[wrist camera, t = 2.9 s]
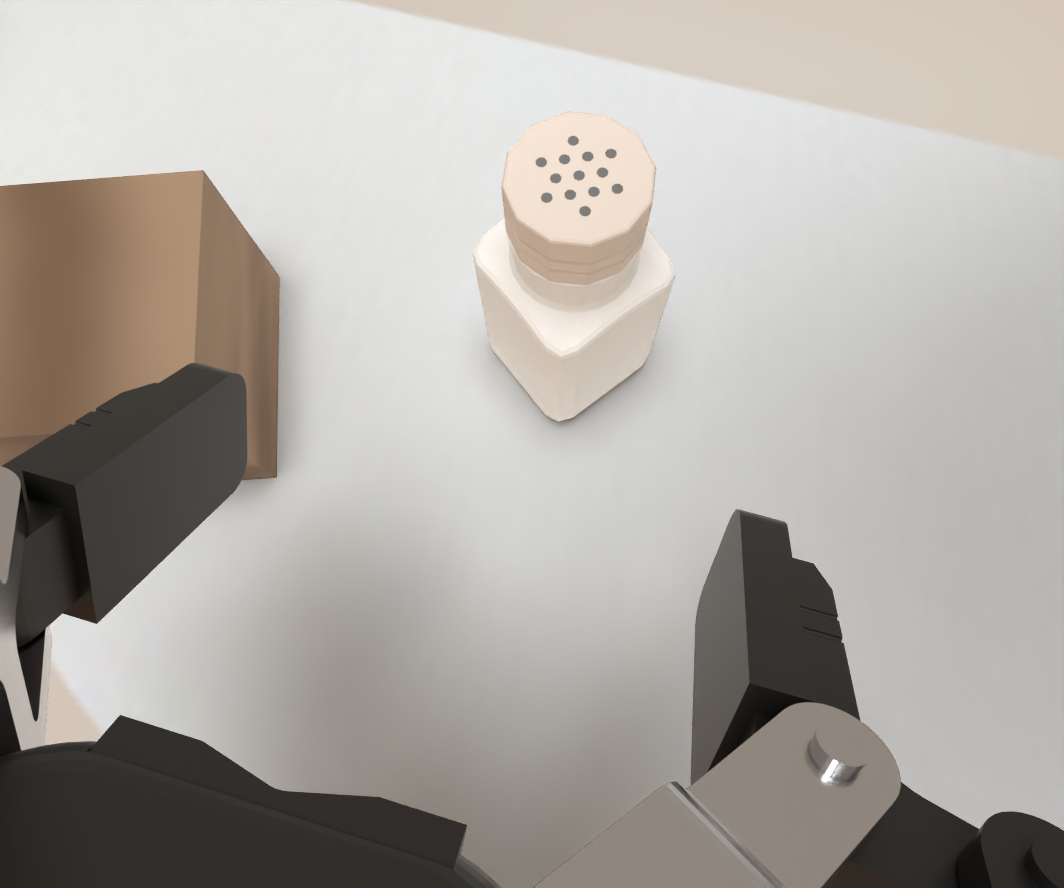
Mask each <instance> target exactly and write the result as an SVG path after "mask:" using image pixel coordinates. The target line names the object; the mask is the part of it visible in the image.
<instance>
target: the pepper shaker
mask: <svg viewBox="0 0 1064 888" xmlns="http://www.w3.org/2000/svg"><path fill="white" fill-rule="evenodd" d="M655 174H656V167H655V165H654V163H653V161H652V160H651V158H650V156H649V154H648V152H647V150H646V148H645V146H644V144H643V143H642V141H641V139H640V137H639V135H637V134H636V133H634V132H632V131H631V130H629V129H628V128H626V127H624V126H623V125H621V124H620V123H618V122H616V121H615V120H613V119H612V118H610V117H608V116H607V115H596V114H586V113H576V112H566V113H563V114H561V115H558V116H555V117H552V118H550V119H547V120H544V121H541V122H539V123H536V124H533V125H532V126H531V127H530V128H529V129H528V130H527V131H526V132H525V134H524V135H523V136H522V137H521V138H520V139H519V140H518V141H517V143H516V144H515V145H514V146H513V147H512V148H511V149H510V150H509V151H508V153H507V158H506V164H505V170H504V176H503V182H502V197H503V206H504V216H505V217H504V218H503V219H502V220H500V221H499V222H498V223H497V224H496V225H495V226H493V227H492V228H491V229H490V230H489V231H487V232H486V233H485V234H484V235H483V236H482V238H481V240H480V242H479V244H478V245H477V247H476V249H475V251H474V253H473V258H474V263H475V268H476V274H477V279H478V284H479V289H480V295H481V300H482V305H483V310H484V316H485V321H486V326H487V332H488V337H489V340H490V344H491V348H492V350H493V351H494V352H495V353H496V354H497V356H498V357H499V358H500V359H501V361H502V362H503V363H504V364H505V366H506V367H507V368H508V369H509V371H510V372H511V373H512V374H513V376H514V377H515V378H516V379H517V380H518V382H519V383H520V384H521V385H522V387H523V388H524V389H525V390H526V392H527V393H528V394H529V395H530V397H531V398H532V399H533V400H534V401H535V403H536V404H537V405H538V406H539V408H540V409H541V410H542V411H543V413H544V414H545V415H547V416H549V417H550V418H552V419H554V420H556V421H558V422H559V421H563V420H567V419H570V418H573V417H574V416H576V415H577V414H578V413H580V412H581V411H582V410H584V409H585V408H586V407H588V406H589V405H591V404H592V403H593V402H595V401H596V400H597V399H599V398H600V397H601V396H603V395H604V394H605V393H607V392H608V391H609V390H611V389H612V388H613V387H615V386H616V385H617V384H619V383H620V382H621V381H623V380H624V379H626V378H627V377H628V376H630V375H631V374H632V373H634V372H635V371H636V370H638V369H639V368H640V367H642V365H643V364H644V362H645V360H646V358H647V357H648V355H649V352H650V349H651V346H652V343H653V341H654V338H655V335H656V332H657V329H658V326H659V323H660V320H661V317H662V314H663V311H664V308H665V305H666V302H667V299H668V296H669V293H670V290H671V287H672V284H673V281H674V279H675V275H674V271H673V267H672V263H671V259H670V256H669V255H668V253H667V252H666V251H665V249H664V248H663V246H662V245H661V244H660V242H659V241H658V240H657V238H656V237H655V236H654V234H653V233H652V232H651V231H650V230H649V228H648V227H647V224H648V220H649V216H650V212H651V207H652V202H653V193H654V183H655Z"/></svg>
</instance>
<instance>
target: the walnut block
mask: <svg viewBox="0 0 1064 888" xmlns="http://www.w3.org/2000/svg"><path fill="white" fill-rule="evenodd" d="M278 342H279V276H278V274H277V273H276V271H275V270H274V269H273V267H272V266H271V264H270V263H269V262H268V260H267V259H266V257H265V256H264V255H263V253H262V252H261V250H260V249H259V248H258V246H257V245H256V243H255V242H254V241H253V239H252V238H251V236H250V235H249V234H248V232H247V231H246V229H245V228H244V227H243V225H242V224H241V222H240V221H239V220H238V218H237V217H236V215H235V214H234V213H233V211H232V210H231V208H230V207H229V206H228V204H227V203H226V201H225V200H224V199H223V197H222V196H221V194H220V193H219V192H218V190H217V189H216V187H215V186H214V185H213V183H212V182H211V180H210V179H209V178H208V176H207V175H206V173H205V172H204V171H203V170H201V171H188V172H175V173H162V174H149V175H137V176H124V177H111V178H98V179H85V180H72V181H59V182H47V183H34V184H21V185H8V186H0V466H2V465H4V464H6V463H7V462H9V461H10V460H12V459H14V458H15V457H17V456H19V455H20V454H22V453H23V452H25V451H27V450H28V449H30V448H32V447H33V446H35V445H37V444H38V443H40V442H41V441H43V440H45V439H46V438H48V437H50V436H51V435H53V434H55V433H56V432H58V431H59V430H61V429H63V428H64V427H66V426H68V425H69V424H72V425H74V424H75V421H76V420H77V419H79V418H81V417H82V416H84V415H86V414H87V413H89V412H90V411H93V412H95V411H96V408H97V407H99V406H100V405H102V404H103V403H105V402H107V401H108V400H110V399H112V398H113V397H115V396H117V395H118V394H120V393H122V392H125V391H128V390H132V389H135V388H138V387H142V386H145V385H148V384H152V383H159V382H161V381H163V380H164V379H166V378H167V377H169V376H170V375H172V374H174V373H175V372H177V371H178V370H180V369H181V368H183V367H185V366H186V365H188V364H190V363H193V362H195V363H200V364H204V365H208V366H212V367H215V368H219V369H223V370H226V371H230V372H234V373H238V374H240V375H241V376H242V377H243V378H244V381H245V384H246V392H247V464H246V468H245V472H244V475H243V477H242V479H241V480H249V479H262V478H275V477H277V412H278Z"/></svg>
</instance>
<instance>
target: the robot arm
mask: <svg viewBox="0 0 1064 888" xmlns="http://www.w3.org/2000/svg"><path fill="white" fill-rule="evenodd" d="M246 464H247V392H246V384H245V381H244V378H243V377H242V376H241V375H240V374H238V373H234V372H230V371H226V370H223V369H219V368H215V367H212V366H208V365H204V364H200V363H195V362H193V363H190V364H188V365H186V366H185V367H183V368H181V369H180V370H178V371H177V372H175V373H174V374H172V375H170V376H169V377H167V378H166V379H164V380H163V381H161V382H159V383H152V384H148V385H145V386H142V387H138V388H135V389H132V390H128V391H125V392H122V393H120V394H118V395H117V396H115V397H113V398H112V399H110V400H108V401H107V402H105V403H103V404H102V405H100V406H99V407H97V408H96V411H95V412H93V411H90V412H89V413H87V414H86V415H84V416H82V417H81V418H79V419H77V420H76V421H75V424H74V425H72V424H69V425H68V426H66V427H64V428H63V429H61V430H59V431H58V432H56V433H55V434H53V435H51V436H50V437H48V438H46V439H45V440H43V441H41V442H40V443H38V444H37V445H35V446H33V447H32V448H30V449H28V450H27V451H25V452H23V453H22V454H20V455H19V456H17V457H15V458H14V459H12V460H10V461H9V462H7V463H6V464H4V465H2V466H0V888H501V887H500V886H499V885H498V884H497V883H496V882H495V881H494V880H493V879H492V878H490V877H489V876H488V875H487V874H486V873H485V872H483V871H482V870H481V869H480V868H479V867H478V866H476V865H475V864H473V863H472V862H470V861H469V860H467V859H466V858H464V857H463V856H461V855H460V854H461V850H462V845H463V841H464V837H465V832H466V828H467V825H465V824H462V823H459V822H456V821H453V820H449V819H446V818H443V817H440V816H437V815H434V814H430V813H427V812H424V811H421V810H418V809H415V808H412V807H408V806H405V805H402V804H399V803H396V802H393V801H389V800H386V799H383V798H380V797H368V796H352V795H336V794H320V793H304V792H288V791H281V790H278V789H275V788H273V787H271V786H269V785H268V784H266V783H265V782H263V781H262V780H260V779H259V778H257V777H256V776H254V775H253V774H251V773H250V772H248V771H247V770H245V769H244V768H242V767H241V766H239V765H238V764H236V763H235V762H233V761H232V760H230V759H229V758H227V757H226V756H224V755H223V754H221V753H220V752H218V751H217V750H215V749H214V748H212V747H211V746H209V745H208V744H206V743H205V742H203V741H200V740H197V739H194V738H191V737H188V736H185V735H181V734H178V733H175V732H172V731H169V730H166V729H163V728H159V727H156V726H153V725H150V724H147V723H144V722H140V721H137V720H134V719H131V718H128V717H125V716H122V715H120V716H119V717H118V718H117V719H116V720H115V722H114V723H113V724H112V725H111V726H110V727H109V728H108V730H107V731H106V732H105V733H104V734H103V735H102V737H101V738H100V739H99V740H98V741H97V742H93V741H89V742H88V741H87V742H67V743H59V744H52V745H45V732H46V718H47V704H48V690H49V676H50V662H51V648H52V636H51V631H50V626H49V625H50V624H51V623H52V622H53V621H54V620H55V619H57V618H58V617H59V616H60V615H61V614H62V613H63V614H67V615H70V616H73V617H76V618H80V619H83V620H86V621H89V622H93V623H96V624H97V623H98V622H99V621H100V620H101V619H102V618H103V617H104V616H105V615H107V614H108V613H109V612H110V611H111V610H112V609H113V608H114V607H115V606H116V605H117V604H118V603H119V602H120V601H121V600H122V599H123V598H124V597H125V596H126V595H127V594H128V593H129V592H130V591H131V590H132V589H134V588H135V587H136V586H137V585H138V584H139V583H140V582H141V581H142V580H143V579H144V578H145V577H146V576H147V575H148V574H149V573H150V572H151V571H152V570H153V569H154V568H155V567H156V566H157V565H158V564H159V563H160V562H162V561H163V560H164V559H165V558H166V557H167V556H168V555H169V554H170V553H171V552H172V551H173V550H174V549H175V548H176V547H177V546H178V545H179V544H180V543H181V542H182V541H183V540H184V539H185V538H186V537H187V536H189V535H190V534H191V533H192V532H193V531H194V530H195V529H196V528H197V527H198V526H199V525H200V524H201V523H202V522H203V521H204V520H205V519H206V518H207V517H208V516H209V515H210V514H211V513H212V512H213V511H214V510H215V509H217V508H218V507H219V506H220V505H221V504H222V503H223V502H224V501H225V500H226V499H227V498H228V497H229V496H230V495H231V494H232V493H233V492H234V491H235V490H236V488H237V487H238V485H239V483H240V481H241V479H242V477H243V475H244V472H245V468H246ZM837 617H838V614H837V610H836V605H835V600H834V596H833V591H832V589H831V587H830V586H829V585H828V583H827V582H826V580H825V579H824V578H823V576H822V575H821V573H820V572H819V571H818V569H817V568H816V566H815V565H814V564H813V563H809V562H806V561H802V560H798V559H795V558H792V553H791V546H790V540H789V533H788V527H787V524H786V522H783V521H780V520H776V519H772V518H769V517H765V516H761V515H757V514H754V513H750V512H746V511H743V510H739V509H737V510H735V512H734V513H733V515H732V517H731V519H730V521H729V523H728V526H727V528H726V531H725V533H724V536H723V538H722V541H721V544H720V546H719V549H718V551H717V554H716V556H715V559H714V561H713V564H712V566H711V569H710V572H709V574H708V577H707V579H706V582H705V584H704V587H703V590H702V593H701V597H700V601H699V605H698V610H697V616H696V624H695V655H694V689H693V722H692V756H691V786H690V787H689V788H687V789H685V790H684V789H683V788H682V787H681V786H680V785H679V784H678V783H677V782H670V783H668V784H666V785H664V786H662V787H661V788H659V789H658V790H656V791H655V792H654V793H652V794H651V795H650V796H649V797H647V798H646V799H645V800H644V801H642V802H641V803H640V804H639V805H637V806H636V807H635V808H634V809H632V810H631V811H630V812H628V813H627V814H626V815H625V816H623V817H622V818H621V819H620V820H618V821H617V822H616V823H615V824H613V825H612V826H611V827H609V828H608V829H607V830H606V831H604V832H603V833H602V834H601V835H599V836H598V837H597V838H596V839H594V840H593V841H592V842H591V843H589V844H588V845H587V846H585V847H584V848H583V849H582V850H580V851H579V852H578V853H577V854H575V855H574V856H573V857H572V858H570V859H569V860H568V861H566V862H565V863H564V864H563V865H561V866H560V867H559V868H558V869H556V870H555V871H554V872H553V873H551V874H550V875H549V876H548V877H546V878H545V879H544V880H542V881H541V882H540V883H539V884H537V885H536V886H535V887H534V888H1064V831H1063V830H1061V829H1060V828H1058V827H1056V826H1054V825H1052V824H1051V823H1049V822H1047V821H1045V820H1042V819H1040V818H1037V817H1035V816H1032V815H1028V814H1024V813H1019V812H1001V813H997V814H994V815H993V816H991V817H990V818H988V819H987V821H986V822H985V823H984V824H983V825H982V827H981V828H980V829H978V828H976V827H974V826H972V825H971V824H969V823H967V822H965V821H964V820H962V819H960V818H958V817H956V816H955V815H953V814H951V813H949V812H948V811H946V810H944V809H942V808H940V807H939V806H937V805H935V804H933V803H932V802H930V801H928V800H926V799H925V798H923V797H921V796H920V795H918V794H917V793H915V792H914V791H912V790H911V789H910V788H908V787H907V786H905V785H904V784H903V783H902V782H901V778H900V773H899V769H898V766H897V764H896V761H895V759H894V757H893V756H892V754H891V752H890V750H889V749H888V748H887V746H886V745H885V744H884V742H883V741H882V740H881V739H880V738H879V737H878V736H877V735H876V734H875V733H874V732H873V731H872V730H871V729H870V728H869V727H867V726H866V725H865V724H864V723H862V722H861V721H860V718H859V713H858V708H857V704H856V699H855V694H854V689H853V685H852V680H851V675H850V671H849V666H848V661H847V657H846V652H845V647H844V643H841V641H842V633H841V628H840V624H839V621H837Z"/></svg>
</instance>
